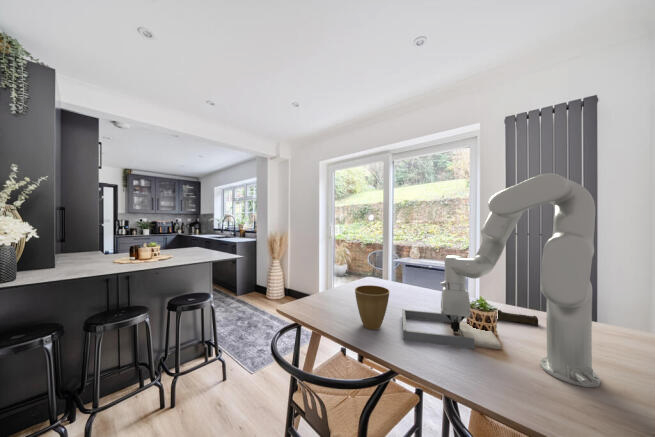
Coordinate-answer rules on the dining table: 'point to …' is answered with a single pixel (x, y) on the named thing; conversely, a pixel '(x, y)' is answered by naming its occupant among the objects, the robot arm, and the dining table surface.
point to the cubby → (433, 337)
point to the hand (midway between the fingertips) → (455, 330)
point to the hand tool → (517, 318)
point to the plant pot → (372, 305)
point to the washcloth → (479, 336)
